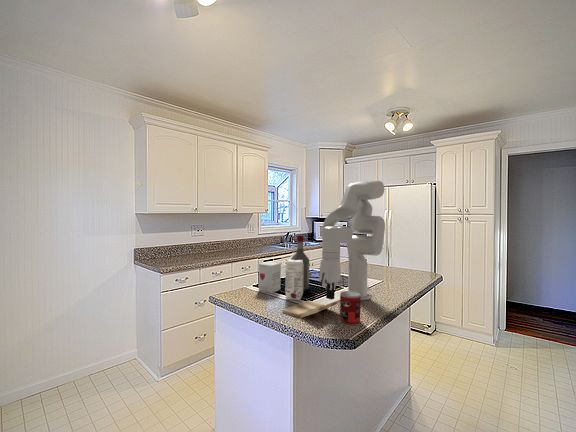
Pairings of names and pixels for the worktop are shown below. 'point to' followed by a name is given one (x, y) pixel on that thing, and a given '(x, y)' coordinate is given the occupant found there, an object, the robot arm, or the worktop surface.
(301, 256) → the liquor
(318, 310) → the plank
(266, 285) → the supplement box
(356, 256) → the robot arm
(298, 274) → the juice carton
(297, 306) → the brown wooden board
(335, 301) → the plank
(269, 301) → the worktop surface
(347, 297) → the canned food
